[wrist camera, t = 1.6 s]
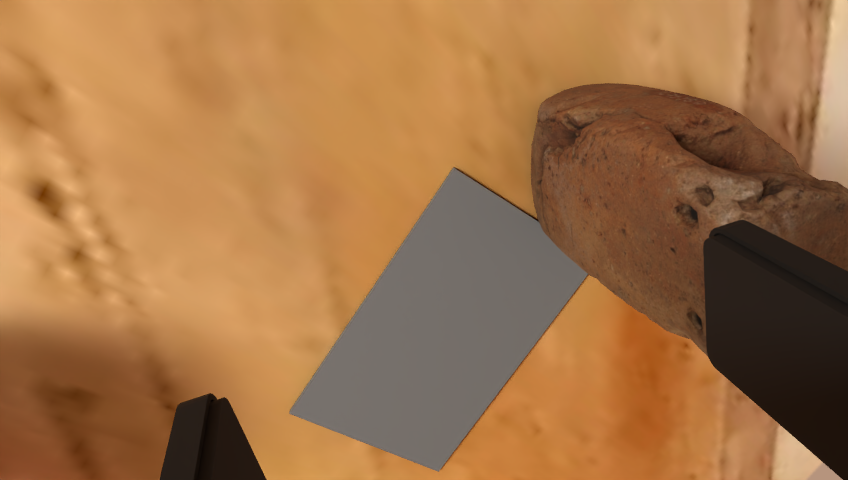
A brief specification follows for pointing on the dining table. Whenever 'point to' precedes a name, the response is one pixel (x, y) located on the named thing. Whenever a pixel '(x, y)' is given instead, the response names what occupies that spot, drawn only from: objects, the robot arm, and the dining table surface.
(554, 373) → the dining table surface
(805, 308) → the robot arm
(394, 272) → the mat
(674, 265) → the block
